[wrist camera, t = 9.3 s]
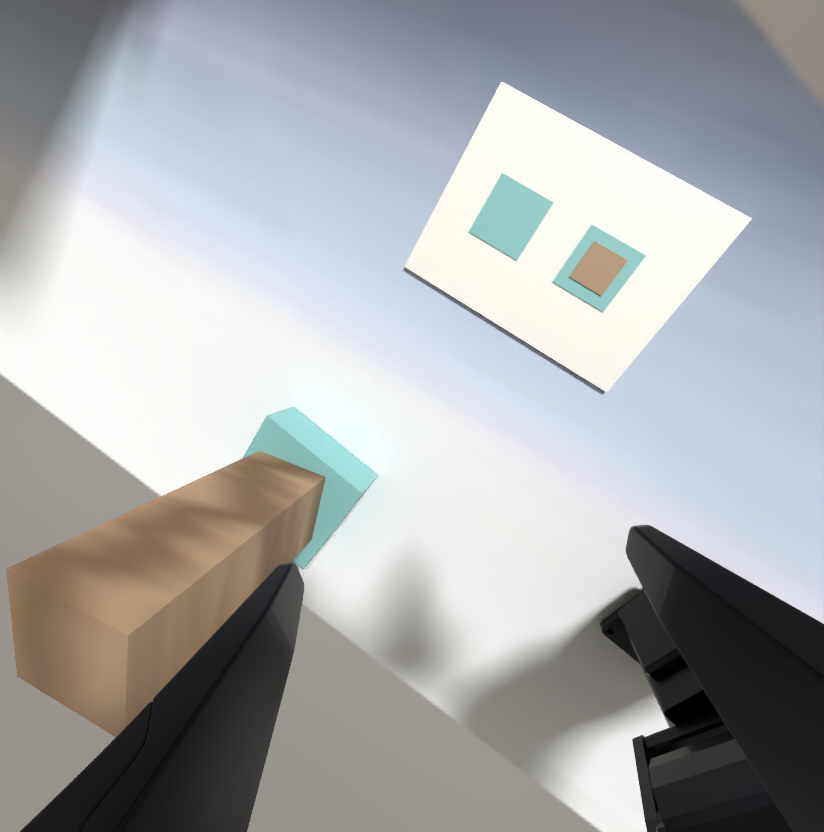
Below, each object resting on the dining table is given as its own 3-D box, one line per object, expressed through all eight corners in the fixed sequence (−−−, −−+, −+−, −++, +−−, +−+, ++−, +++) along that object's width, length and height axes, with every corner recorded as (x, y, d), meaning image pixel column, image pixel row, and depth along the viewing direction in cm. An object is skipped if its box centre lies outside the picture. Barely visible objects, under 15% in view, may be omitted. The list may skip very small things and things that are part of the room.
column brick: (325, 476, 21) (128, 635, 10) (311, 539, 22) (124, 742, 11) (259, 450, 22) (6, 568, 11) (250, 512, 23) (17, 676, 12)
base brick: (378, 475, 23) (362, 493, 21) (324, 544, 26) (303, 569, 23) (294, 406, 24) (267, 415, 21) (249, 481, 26) (219, 498, 24)
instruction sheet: (749, 219, 16) (754, 217, 15) (605, 392, 19) (607, 392, 18) (501, 83, 17) (501, 79, 16) (404, 267, 20) (403, 266, 20)
